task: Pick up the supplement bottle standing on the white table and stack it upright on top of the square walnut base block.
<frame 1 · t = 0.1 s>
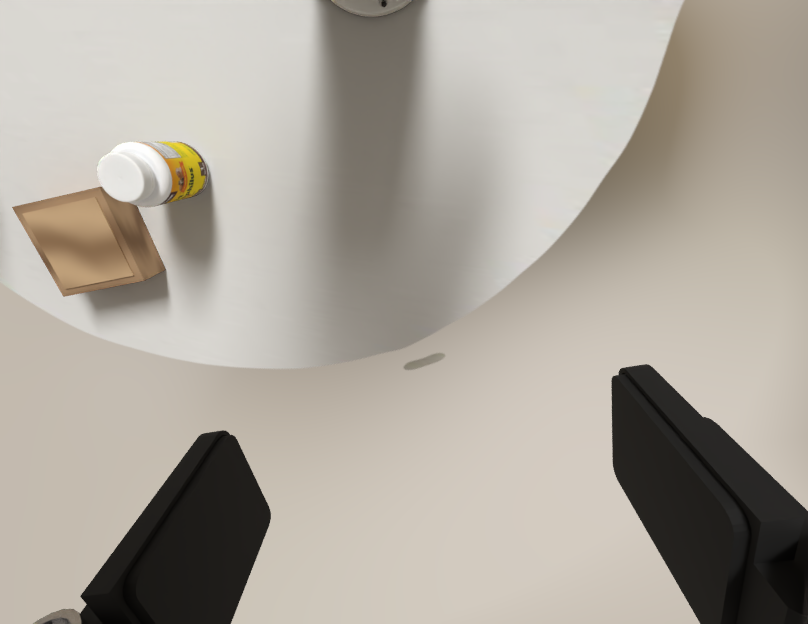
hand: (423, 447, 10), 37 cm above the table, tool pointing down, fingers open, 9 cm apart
supplement bottle: (186, 169, 43), on the table
base: (107, 236, 46), on the table
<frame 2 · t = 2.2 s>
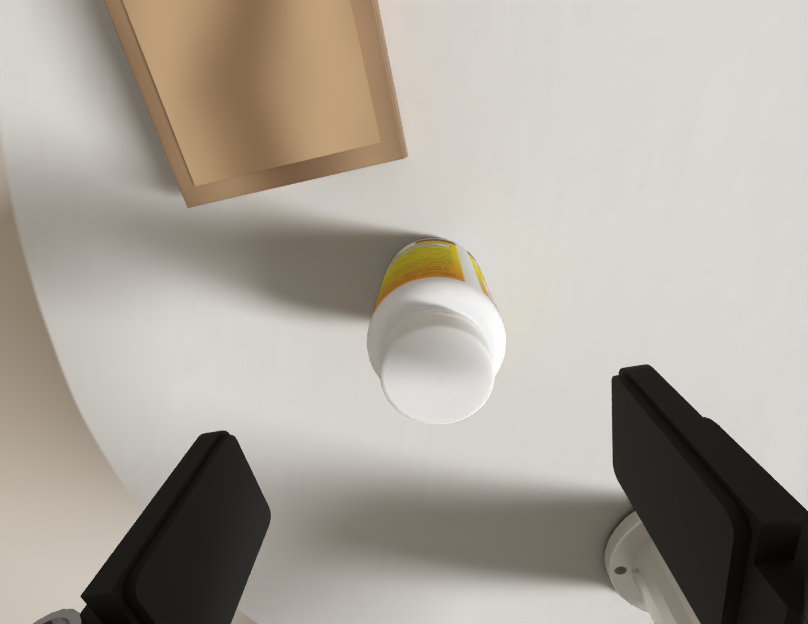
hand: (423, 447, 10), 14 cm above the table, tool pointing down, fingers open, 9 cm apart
supplement bottle: (432, 282, 23), on the table
base: (285, 70, 19), on the table
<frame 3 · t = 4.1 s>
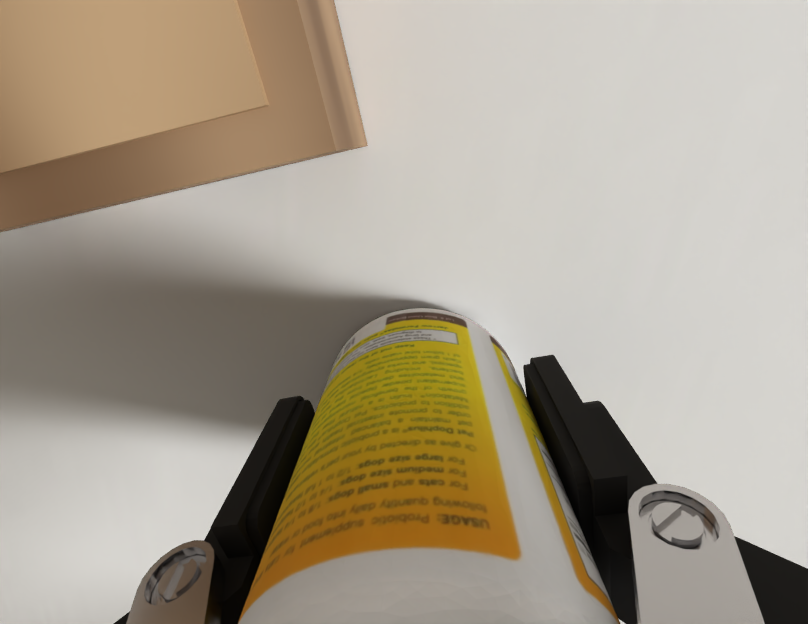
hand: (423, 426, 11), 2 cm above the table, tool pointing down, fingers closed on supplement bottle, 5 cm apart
supplement bottle: (422, 379, 13), on the table, touching gripper
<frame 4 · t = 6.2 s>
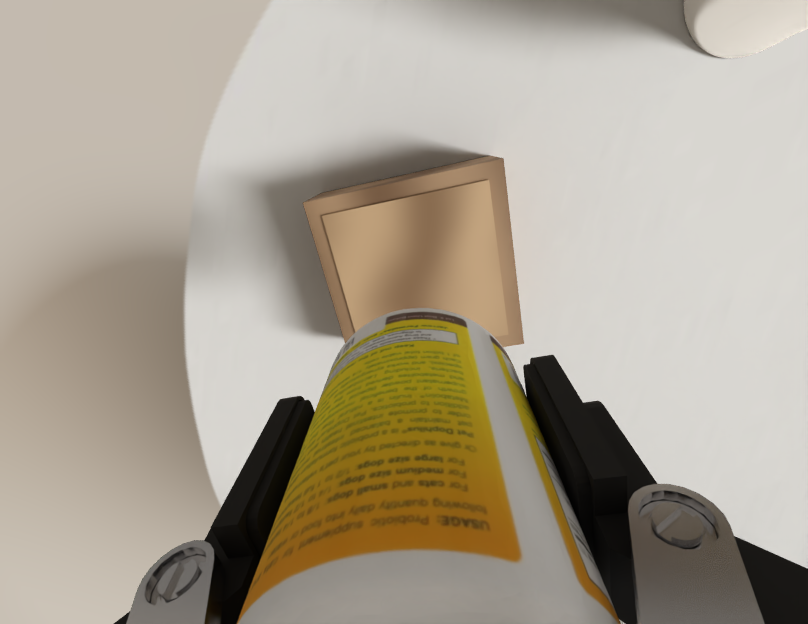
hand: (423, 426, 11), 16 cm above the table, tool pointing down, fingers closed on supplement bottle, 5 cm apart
supplement bottle: (422, 379, 13), point 14 cm above the table, touching gripper
base: (420, 257, 25), on the table
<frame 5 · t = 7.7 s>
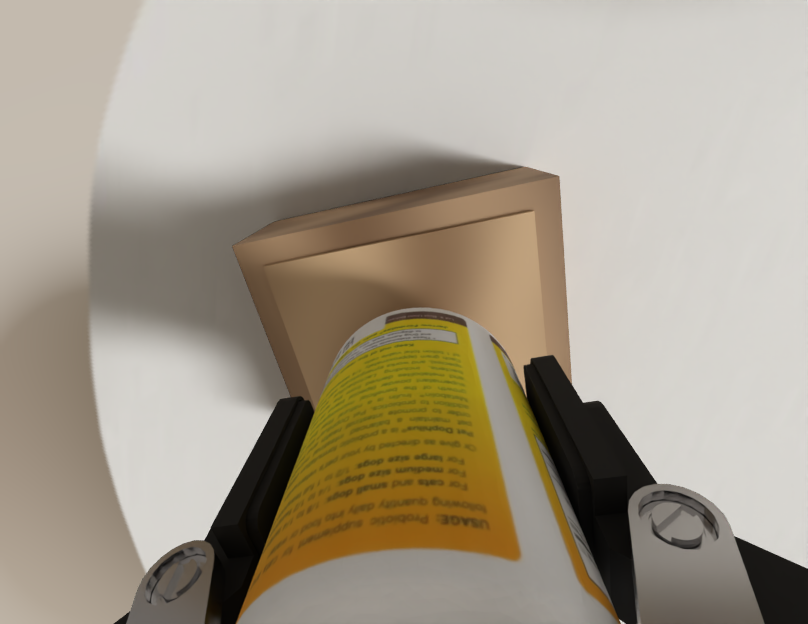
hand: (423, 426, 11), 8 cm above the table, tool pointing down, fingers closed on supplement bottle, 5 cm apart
supplement bottle: (422, 379, 13), point 5 cm above the table, touching gripper
base: (420, 310, 18), on the table
when the fingers open (7 cm above the table, at t = 8.5 s): supplement bottle drops 1 cm, resting on base.
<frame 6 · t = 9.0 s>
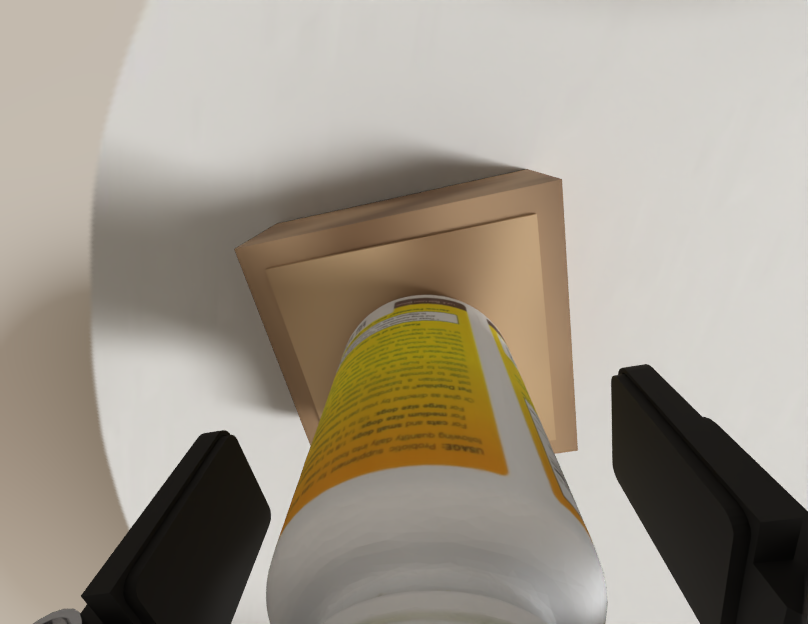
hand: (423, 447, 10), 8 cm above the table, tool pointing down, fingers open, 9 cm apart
supplement bottle: (426, 361, 14), point 4 cm above the table, touching base
base: (421, 312, 18), on the table
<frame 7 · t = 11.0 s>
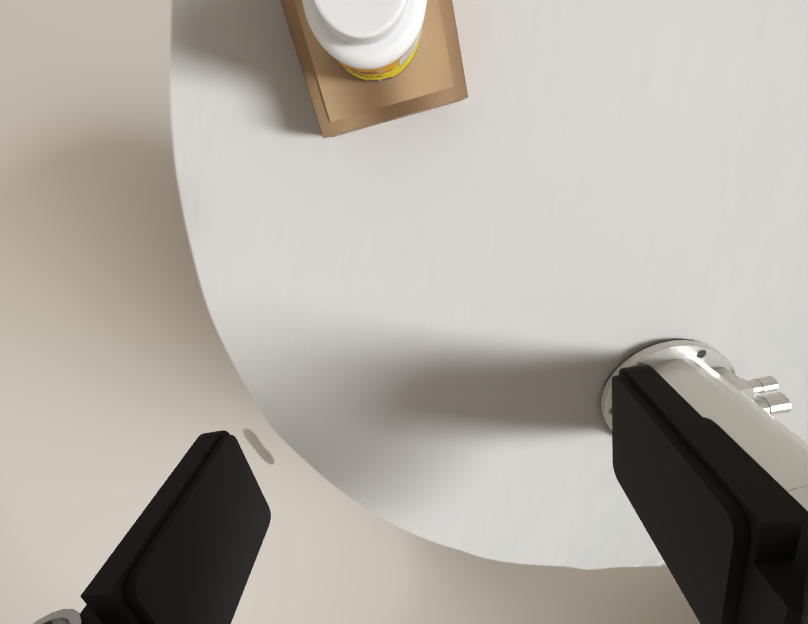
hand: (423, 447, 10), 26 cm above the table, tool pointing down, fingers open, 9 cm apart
supplement bottle: (375, 33, 25), point 4 cm above the table, touching base
base: (377, 43, 28), on the table
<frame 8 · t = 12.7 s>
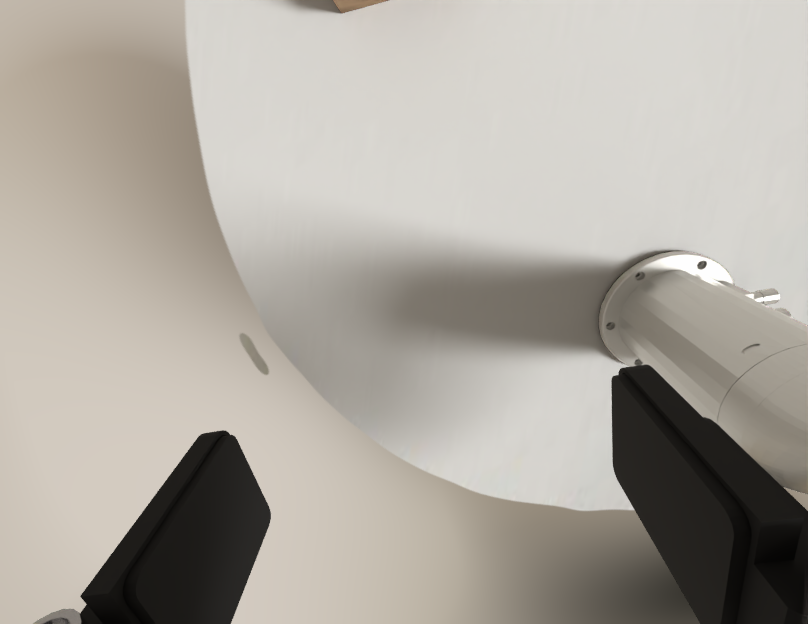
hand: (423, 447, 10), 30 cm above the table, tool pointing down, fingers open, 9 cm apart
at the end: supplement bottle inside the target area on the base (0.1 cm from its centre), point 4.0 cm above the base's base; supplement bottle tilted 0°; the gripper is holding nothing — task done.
